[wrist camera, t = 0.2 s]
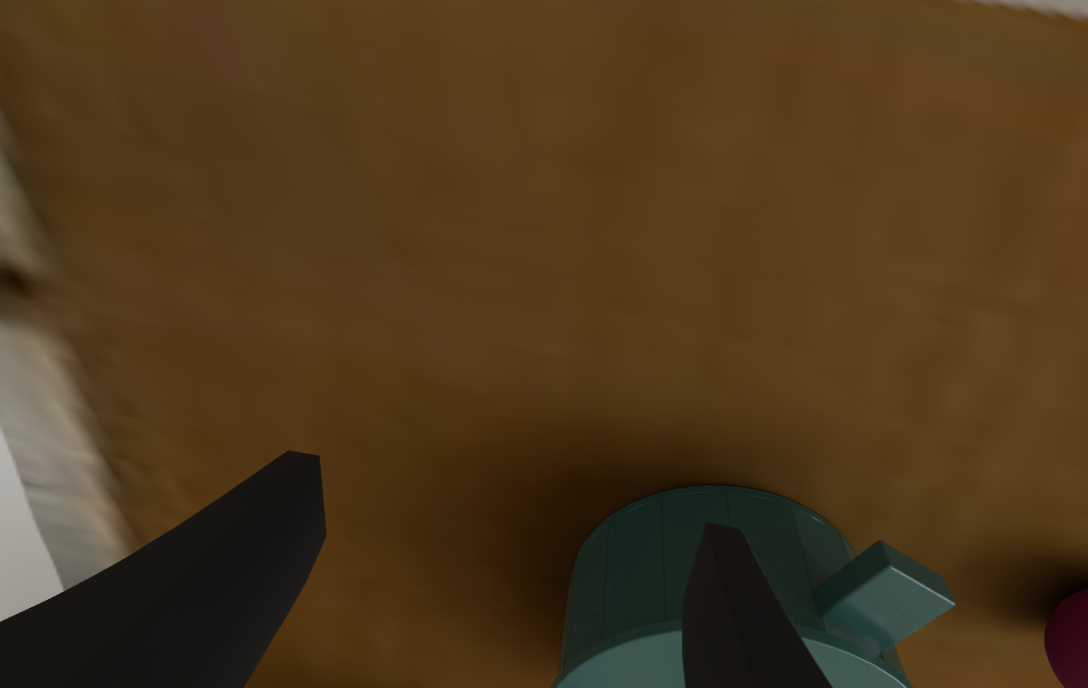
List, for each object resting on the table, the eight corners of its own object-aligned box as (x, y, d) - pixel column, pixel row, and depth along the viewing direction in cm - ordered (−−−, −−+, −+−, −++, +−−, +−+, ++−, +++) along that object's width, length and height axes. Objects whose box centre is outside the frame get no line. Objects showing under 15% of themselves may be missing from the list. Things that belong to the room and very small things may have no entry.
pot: (993, 539, 23) (1093, 699, 18) (699, 741, 31) (709, 890, 26) (732, 379, 21) (759, 505, 16) (493, 636, 29) (460, 774, 24)
